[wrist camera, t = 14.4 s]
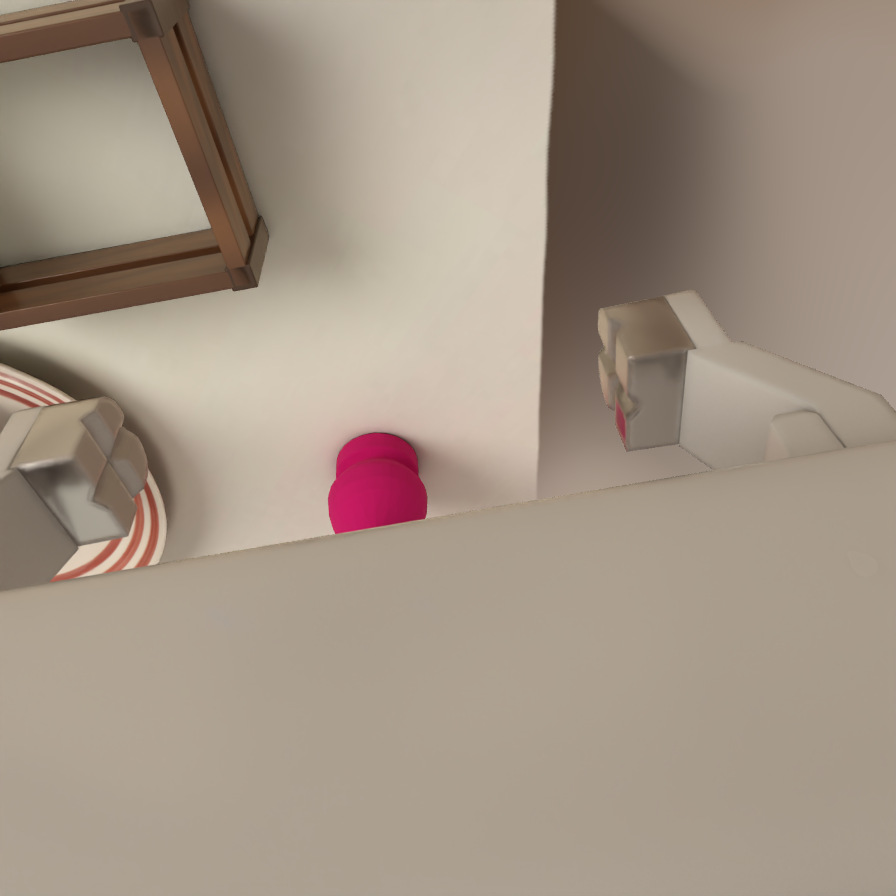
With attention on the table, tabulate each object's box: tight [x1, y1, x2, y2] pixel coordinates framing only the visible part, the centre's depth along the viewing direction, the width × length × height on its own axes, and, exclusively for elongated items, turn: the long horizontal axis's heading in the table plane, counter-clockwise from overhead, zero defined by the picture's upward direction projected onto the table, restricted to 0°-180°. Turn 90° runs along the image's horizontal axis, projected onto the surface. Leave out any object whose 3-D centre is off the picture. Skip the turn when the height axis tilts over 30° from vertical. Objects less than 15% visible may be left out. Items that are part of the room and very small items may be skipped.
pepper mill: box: [328, 433, 427, 534], centre depth 48 cm, size 7×7×20 cm
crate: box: [0, 0, 269, 330], centre depth 36 cm, size 13×17×6 cm
